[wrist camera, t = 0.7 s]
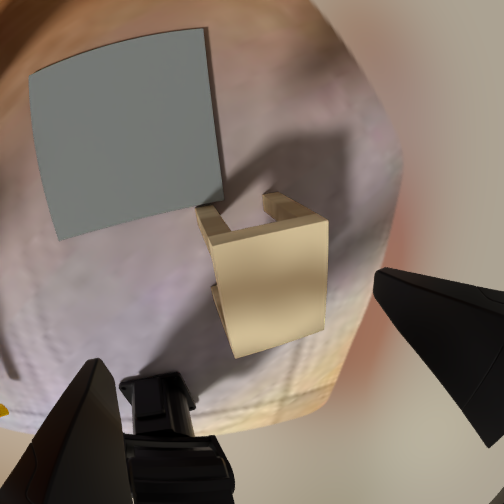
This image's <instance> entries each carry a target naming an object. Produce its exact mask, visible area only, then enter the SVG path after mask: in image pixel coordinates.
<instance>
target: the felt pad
mask: <svg viewBox="0 0 504 504" xmlns="http://www.w3.org/2000/svg"><path fill="white" fill-rule="evenodd" d="M29 97H30V110H31V120H32V129H33V136H34V143H35V149H36V155H37V160H38V166H39V171H40V175H41V180H42V184H43V188H44V192H45V196H46V200H47V204H48V207H49V211H50V214H51V218H52V221H53V224H54V228H55V231H56V234H57V237H58V240H59V241H61V240H65V239H68V238H71V237H75V236H78V235H81V234H85V233H88V232H92V231H95V230H99V229H103V228H106V227H110V226H114V225H118V224H121V223H125V222H129V221H133V220H137V219H141V218H145V217H149V216H153V215H157V214H162V213H166V212H170V211H175V210H179V209H183V208H188V207H193V206H197V205H202V204H207V203H211V202H216V201H221V200H224V193H223V186H222V179H221V172H220V164H219V157H218V149H217V142H216V134H215V126H214V118H213V110H212V102H211V94H210V86H209V77H208V68H207V59H206V50H205V41H204V31H203V28H202V29H191V30H182V31H175V32H168V33H161V34H156V35H150V36H145V37H140V38H136V39H131V40H127V41H123V42H119V43H115V44H111V45H108V46H104V47H101V48H98V49H94V50H91V51H88V52H85V53H82V54H79V55H77V56H74V57H71V58H68V59H66V60H63V61H61V62H58V63H56V64H53V65H51V66H49V67H46V68H44V69H42V70H40V71H38V72H36V73H33V74H31V75H29Z"/></svg>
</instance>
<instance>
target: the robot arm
mask: <svg viewBox="0 0 504 504" xmlns="http://www.w3.org/2000/svg"><path fill="white" fill-rule="evenodd" d="M373 294H374V297H375V299H376V300H377V302H378V303H379V304H380V306H381V307H382V309H383V310H384V311H385V313H386V314H387V316H388V317H389V318H390V320H391V321H392V323H393V324H394V326H395V327H396V328H397V330H398V331H399V332H400V333H401V335H402V336H403V337H404V338H405V339H406V341H407V342H408V343H409V344H410V345H411V347H412V348H413V349H414V350H415V351H416V353H417V354H418V355H419V356H420V358H421V359H422V360H423V361H424V362H425V364H426V365H427V366H428V367H429V369H430V370H431V371H432V372H433V374H434V375H435V376H436V378H437V379H438V380H439V381H440V383H441V384H442V385H443V386H444V388H445V389H446V390H447V392H448V393H449V394H450V396H451V397H452V398H453V400H454V401H455V402H456V404H457V405H458V406H459V408H460V409H461V410H462V412H463V414H464V415H465V416H466V418H467V419H468V421H469V422H470V423H471V425H472V426H473V428H474V429H475V430H476V432H477V433H478V435H479V436H480V438H481V439H482V441H483V442H484V444H485V445H486V446H487V447H488V448H490V447H491V446H492V445H493V444H495V443H496V442H497V441H498V440H499V439H500V438H501V437H502V436H503V435H504V291H498V290H493V289H488V288H483V287H478V286H477V287H476V286H474V285H469V284H464V283H460V282H455V281H450V280H445V279H440V278H436V277H431V276H426V275H421V274H417V273H411V272H407V271H402V270H397V269H392V268H388V267H387V268H386V267H385V268H382V269H380V270H377V271H376V272H375V275H374V286H373ZM119 389H120V391H121V392H122V393H123V395H124V396H125V398H126V399H127V400H128V402H129V403H130V404H131V406H132V420H133V434H125V433H123V432H122V424H121V418H120V412H119V406H118V400H117V394H116V387H115V381H114V378H113V376H112V374H111V373H110V371H109V370H108V369H107V367H106V366H105V364H104V363H103V361H102V360H101V359H100V358H94V359H89V360H87V361H86V362H85V364H84V365H83V366H82V368H81V369H80V371H79V372H78V373H77V375H76V376H75V377H74V379H73V380H72V382H71V383H70V384H69V386H68V387H67V389H66V390H65V391H64V393H63V394H62V396H61V397H60V399H59V400H58V401H57V403H56V404H55V406H54V407H53V409H52V410H51V412H50V413H49V415H48V416H47V418H46V419H45V421H44V422H43V424H42V425H41V427H40V428H39V430H38V431H37V433H36V435H35V436H34V438H33V439H32V443H30V444H29V446H28V447H27V449H26V451H25V452H24V454H23V455H22V457H21V459H20V460H19V462H18V463H17V465H16V466H15V468H14V469H13V471H12V472H11V474H10V475H9V477H8V478H7V479H6V481H5V482H4V484H3V485H2V487H1V488H0V504H133V501H132V498H133V499H134V504H234V500H233V495H232V494H233V493H234V490H235V479H234V474H233V471H232V468H231V465H230V463H229V461H228V460H227V458H226V456H225V454H224V452H223V450H222V448H221V446H220V444H219V443H218V441H217V438H216V436H215V435H209V436H201V437H195V435H194V430H193V426H192V422H191V417H190V412H189V411H192V410H195V409H196V405H195V403H194V401H193V399H192V397H191V395H190V393H189V390H188V388H187V386H186V384H185V382H184V380H183V378H182V376H181V374H180V373H178V372H174V373H169V374H165V375H160V376H155V377H150V378H144V379H139V380H133V381H127V382H122V383H120V384H119ZM489 504H504V487H503V488H502V490H501V491H500V492H499V493H498V495H497V496H496V497H495V498H494V499H493V500H492V501H491V502H490V503H489Z"/></svg>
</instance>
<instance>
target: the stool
mask: <svg viewBox="0 0 504 504" xmlns="http://www.w3.org/2000/svg"><path fill="white" fill-rule="evenodd" d="M262 196H263V206H264V211H265V212H266V213H268V214H269V215H270V216H271V217H273V218H274V219H275V220H276V221H278V222H273V223H269V224H264V225H259V226H254V227H250V228H245V229H241V230H236V231H231V230H230V229H229V227H228V226H227V224H226V223H225V222H224V220H223V219H222V217H221V216H220V215H219V213H218V212H217V210H216V209H215V208H214V206H213V205H212V204H211V205H207V206H202V207H197V208H195V211H196V217H197V222H198V226H199V228H200V231H201V233H202V236H203V238H204V241H205V243H206V245H207V248H208V250H209V253H210V255H211V257H212V261H213V266H214V272H215V277H216V282H217V285H216V286H211V291H212V295H213V299H214V302H215V305H216V308H217V311H218V314H219V316H220V319H221V322H222V325H223V327H224V330H225V333H226V336H227V338H228V341H229V344H230V346H231V349H232V351H233V354H234V357H235V359H237V358H240V357H244V356H247V355H250V354H254V353H257V352H260V351H264V350H267V349H270V348H273V347H276V346H279V345H282V344H285V343H288V342H291V341H294V340H297V339H300V338H303V337H305V336H308V335H311V334H314V333H316V332H319V331H322V330H324V325H325V311H326V294H327V272H328V220H327V219H325V218H324V217H322V216H320V215H318V214H317V213H315V212H313V211H312V210H310V209H308V208H306V207H304V206H303V205H301V204H299V203H297V202H296V201H294V200H292V199H290V198H288V197H286V196H285V195H283V194H281V193H279V192H275V193H269V194H263V195H262Z"/></svg>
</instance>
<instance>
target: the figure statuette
mask: <svg viewBox="0 0 504 504" xmlns="http://www.w3.org/2000/svg"><path fill="white" fill-rule="evenodd" d="M8 414H9V411H8V409H7V408H6V407H5V406H4V405H2V404H0V417H2V416H5V415H8Z"/></svg>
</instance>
